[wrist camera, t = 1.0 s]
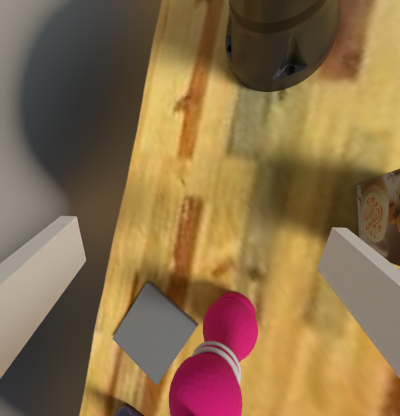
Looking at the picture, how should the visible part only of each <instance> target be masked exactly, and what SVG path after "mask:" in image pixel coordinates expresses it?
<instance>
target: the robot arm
mask: <svg viewBox="0 0 400 416" xmlns="http://www.w3.org/2000/svg"><path fill="white" fill-rule="evenodd" d="M229 5H230V9H229V16H228V24H227V31H226V53H227V57H228V61H229V65H230V68H231V70H232V72H233V74H234V75H235V76H236V78H237V79H238V80H239V81H240V82H241V83H243V84H244V85H246V86H248V87H250V88H252V89H255V90H260V91H277V90H282V89H286V88H289V87H292V86H294V85H296V84H298V83H300V82H302V81H303V80H305V79H306V78H308V77H309V76H310V75H312V74H313V73H314V72H315V71H316V70H317V69H318V68H319V67H320V66H321V65H322V63H323V62H324V61H325V59H326V58H327V56H328V54H329V52H330V50H331V48H332V46H333V43H334V40H335V37H336V35H337V32H338V28H339V22H340V0H229ZM85 261H86V257H85V253H84V248H83V244H82V239H81V235H80V230H79V225H78V221H77V217H76V216H60V217H59V218H58V219H56V220H55V221H54V222H53V223H51V224H50V225H49V226H47V227H46V228H45V229H44V230H43V231H41V232H40V233H39V234H37V235H36V236H35V237H34V238H32V239H31V240H30V241H28V242H27V243H26V244H25V245H23V246H22V247H21V248H20V249H18V250H17V251H16V252H15V253H13V254H12V255H11V256H10V257H8V258H7V259H6V260H5V261H3V262H2V263H1V264H0V378H1V377H2V375H3V374H4V372H5V371H6V370H7V369H8V367H9V366H10V364H11V363H12V362H13V360H14V359H15V358H16V356H17V355H18V353H19V352H20V350H21V349H22V348H23V347H24V345H25V344H26V342H27V341H28V340H29V338H30V337H31V336H32V334H33V333H34V331H35V330H36V329H37V327H38V326H39V325H40V323H41V322H42V320H43V319H44V318H45V316H46V315H47V314H48V312H49V311H50V309H51V308H52V307H53V305H54V304H55V303H56V301H57V300H58V299H59V297H60V296H61V294H62V293H63V291H64V290H65V289H66V288H67V286H68V285H69V283H70V282H71V281H72V279H73V278H74V276H75V275H76V274H77V272H78V271H79V270H80V268H81V267H82V265H83V264H84V263H85ZM317 269H318V270H319V272H320V273H321V274H322V276H323V277H324V278H325V280H326V281H327V282H328V284H329V285H330V286H331V288H332V289H333V290H334V292H335V293H336V294H337V296H338V297H339V298H340V300H341V301H342V302H343V304H344V305H345V306H346V308H347V309H348V310H349V312H350V313H351V314H352V316H353V317H354V318H355V320H356V321H357V322H358V324H359V325H360V326H361V328H362V329H363V330H364V332H365V333H366V334H367V336H368V337H369V338H370V340H371V341H372V342H373V343H374V345H375V346H376V347H377V349H378V350H379V351H380V353H381V354H382V355H383V357H384V358H385V359H386V361H387V362H388V363H389V365H390V366H391V367H392V369H393V370H394V371H395V373H396V374H397V375H398V377H399V378H400V270H399V269H398V268H396V267H395V266H394V265H393V264H391V263H390V262H389V261H388V260H386V259H385V258H384V257H383V256H381V255H380V254H379V253H378V252H376V251H375V250H374V249H373V248H371V247H370V246H369V245H367V244H366V243H365V242H364V241H362V240H361V239H360V238H359V237H357V236H356V235H355V234H354V233H352V232H351V231H350V230H349V229H347V228H336V227H332V230H331V232H330V235H329V238H328V240H327V243H326V246H325V248H324V251H323V254H322V256H321V259H320V262H319V264H318V267H317Z"/></svg>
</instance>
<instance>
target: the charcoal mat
mask: <svg viewBox="0 0 400 416" xmlns="http://www.w3.org/2000/svg"><path fill="white" fill-rule="evenodd" d="M197 326H198V323H197V322H196V321H195V320H193V319H192V318H191V317H190V316H189V315H188V314H187V313H185V312H184V311H183V310H182V309H181V308H180V307H179V306H177V305H176V304H175V303H174V302H173V301H172V300H171V299H169V298H168V297H167V296H166V295H165V294H164V293H163V292H162V291H160V290H159V289H158V288H157V287H156V286H155V285H154V284H152V283H151V282H150V281H148V282H147V283H146V285H145V286H144V288H143V289H142V291H141V293H140V294H139V296H138V298H137V299H136V301H135V303H134V304H133V306H132V307H131V309H130V311H129V312H128V314H127V316H126V317H125V319H124V320H123V322H122V324H121V325H120V327H119V329H118V330H117V332H116V334H115V335H114V337H113V338H112V339H113V340H114V341H115V342H116V343H117V344H118V345H119V346H120V347H121V348H122V349H123V350H124V351H125V352H126V353H127V354H128V355H129V357H130V358H131V359H132V360H133V361H134V362H135V363H136V364H137V365H138V366H139V367H140V368H141V369H142V370H143V371H144V372H145V373H146V374H147V376H148V377H149V378H150V379H151V380H152V381H153V382H154V383H155V384H156V385H157V384H158V383H159V381H160V380H161V378H162V377H163V375H164V374H165V372H166V371H167V370H168V368H169V367H170V365H171V364H172V362H173V361H174V359H175V358H176V356H177V355H178V353H179V352H180V351H181V349H182V348H183V346H184V345H185V343H186V342H187V340H188V339H189V337H190V336H191V334H192V333H193V331H194V330H195V329H196V327H197Z"/></svg>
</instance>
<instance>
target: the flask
mask: <svg viewBox="0 0 400 416" xmlns="http://www.w3.org/2000/svg"><path fill="white" fill-rule="evenodd" d="M114 416H143V415H142V414H141V413H140V412H138V411H137V410H136V409H134V408H133V407H132V406H131V405H128V404H126V403H125V404H123V405H122V406H121V407H120V408H119V409H118V411H117V412H116V413H115V415H114Z"/></svg>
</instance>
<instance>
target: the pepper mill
mask: <svg viewBox="0 0 400 416" xmlns="http://www.w3.org/2000/svg"><path fill="white" fill-rule="evenodd" d="M203 335H204V340H205V341H204V343H202V344H200V345H199V346H198V347H197V348H196V349H195V351H194V353H193V355H192V356H191V357H189V358H187V359H186V360H185V361H184V362H183V363H182V364H181V365H180V367H179V368H178V369H177V371H176V373H175V375H174V378H173V380H172V383H171V386H170V392H169V408H170V414H171V416H241V413H242V395H241V389H240V380H241V367H240V364H239V362H240V361H241V360H243V359H244V358H246V357H247V356H248V355H249V354H250V352H251V351H252V349H253V348H254V346H255V343H256V340H257V336H258V326H257V322H256V313H255V309H254V306H253V304H252V303H251V301H250V300H249V299H248V298H246V297H245V296H244V295H242V294H239V293H234V292H232V293H226V294H224V295H223V296H221V297H220V298H219V299H218V301H216V302H214V303H213V304H212V305H211V306H210V307H209V309H208V310H207V312H206V315H205V317H204V321H203Z"/></svg>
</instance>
